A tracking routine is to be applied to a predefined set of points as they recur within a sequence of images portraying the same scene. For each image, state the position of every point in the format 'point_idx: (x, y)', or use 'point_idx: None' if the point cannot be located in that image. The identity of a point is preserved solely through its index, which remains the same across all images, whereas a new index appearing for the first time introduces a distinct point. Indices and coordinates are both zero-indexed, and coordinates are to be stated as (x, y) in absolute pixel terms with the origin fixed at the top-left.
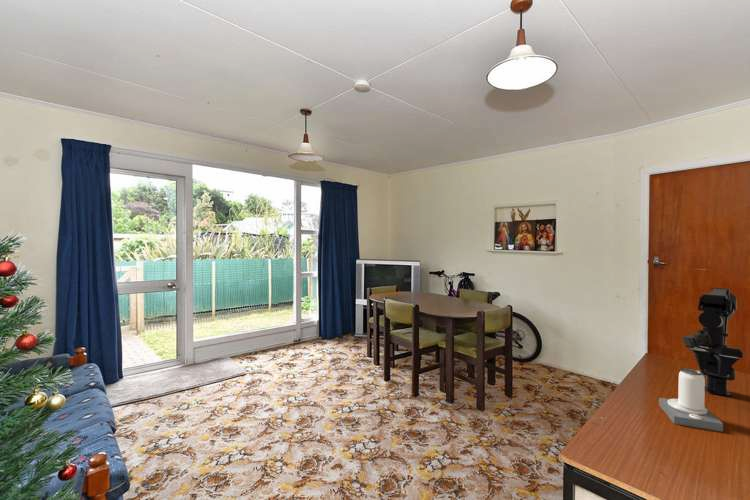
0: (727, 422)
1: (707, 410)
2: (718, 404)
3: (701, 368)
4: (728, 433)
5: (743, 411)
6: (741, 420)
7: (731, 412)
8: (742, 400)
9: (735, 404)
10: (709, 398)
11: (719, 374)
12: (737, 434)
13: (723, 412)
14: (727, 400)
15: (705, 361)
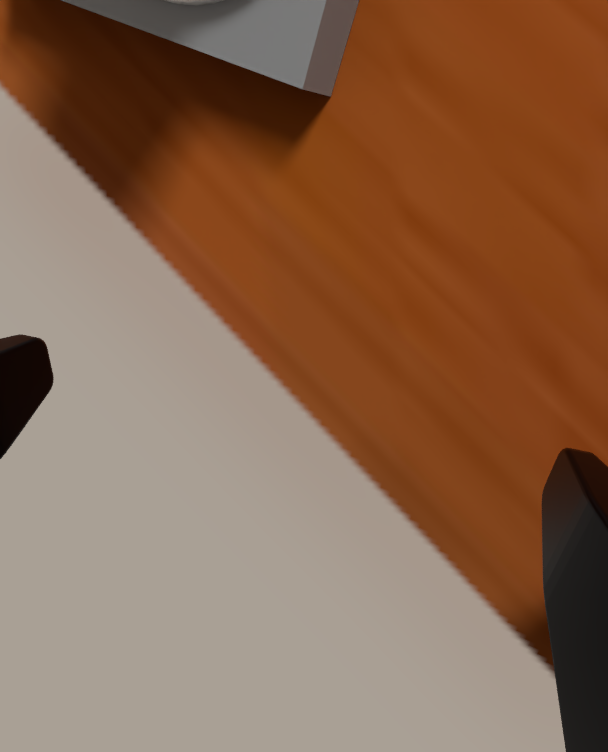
0: (164, 156)
1: (166, 21)
2: (457, 381)
3: (565, 483)
4: (17, 13)
5: (338, 445)
6: (207, 294)
7: (318, 344)
8: (516, 628)
9: (451, 510)
10: (590, 423)
11: (14, 338)
12: (21, 74)
13: (315, 280)
14: (528, 528)
15: (586, 737)
